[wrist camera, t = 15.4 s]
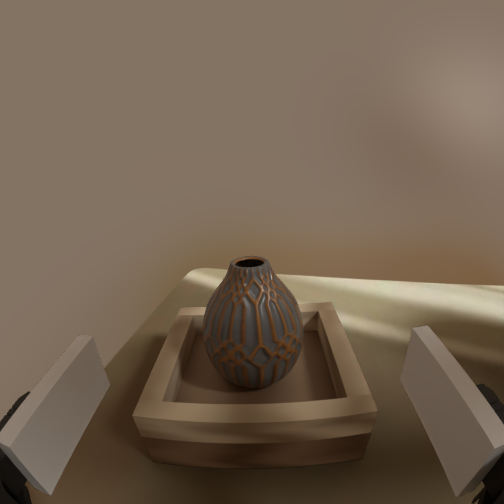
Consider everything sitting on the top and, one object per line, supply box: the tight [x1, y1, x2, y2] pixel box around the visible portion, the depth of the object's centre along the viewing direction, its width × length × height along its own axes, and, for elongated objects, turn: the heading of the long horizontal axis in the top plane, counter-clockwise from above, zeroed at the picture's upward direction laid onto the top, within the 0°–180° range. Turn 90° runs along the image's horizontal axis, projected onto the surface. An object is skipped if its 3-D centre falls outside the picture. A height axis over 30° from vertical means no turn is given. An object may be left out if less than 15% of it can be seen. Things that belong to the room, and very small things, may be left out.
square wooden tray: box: [132, 302, 378, 468], centre depth 23 cm, size 14×14×5 cm
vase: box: [203, 256, 303, 388], centre depth 21 cm, size 7×7×9 cm
